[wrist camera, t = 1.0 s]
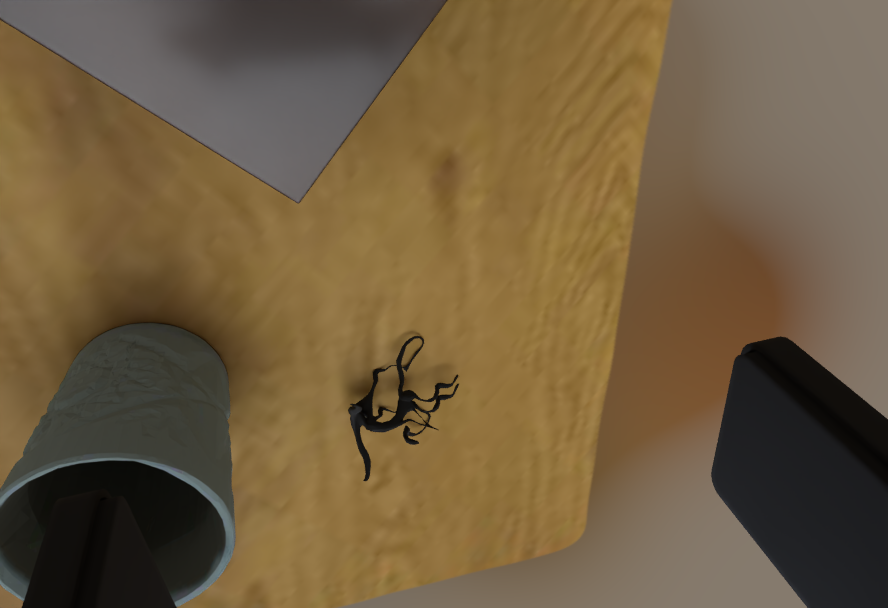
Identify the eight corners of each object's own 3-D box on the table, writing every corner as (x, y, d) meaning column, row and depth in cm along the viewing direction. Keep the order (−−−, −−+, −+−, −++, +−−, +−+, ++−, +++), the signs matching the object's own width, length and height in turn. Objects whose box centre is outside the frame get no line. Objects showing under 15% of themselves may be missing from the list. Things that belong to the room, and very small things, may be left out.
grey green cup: (220, 455, 43) (213, 623, 33) (41, 440, 39) (-28, 624, 29) (254, 323, 39) (257, 470, 29) (57, 292, 35) (-18, 449, 25)
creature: (443, 316, 43) (325, 355, 40) (484, 359, 39) (356, 405, 36) (449, 409, 47) (342, 450, 45) (487, 457, 43) (372, 505, 40)
